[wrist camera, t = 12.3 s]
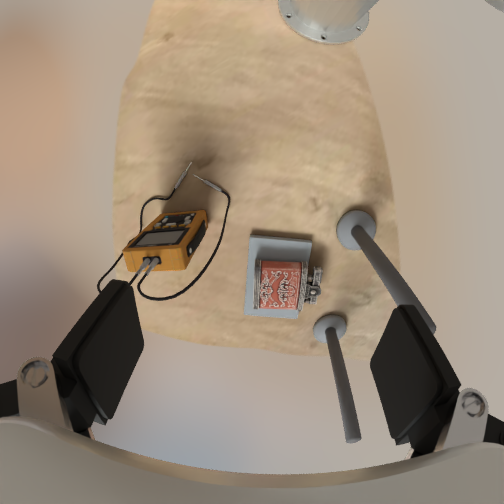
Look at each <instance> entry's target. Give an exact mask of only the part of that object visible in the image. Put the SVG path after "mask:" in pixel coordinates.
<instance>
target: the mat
mask: <svg viewBox="0 0 504 504" xmlns="http://www.w3.org/2000/svg"><path fill="white" fill-rule="evenodd" d="M311 247H312V241H311V240H303V239H293V238H282V237H271V236H260V235H250V242H249V255H248V268H247V281H246V294H245V308H244V315H253V316H265V317H278V318H293V319H297V317H298V313H299V311H297V310H293V309H264V308H259V309H253V289H254V264H255V259H261V261H280V262H301V261H307V266H308V263H309V258H310V252H311Z"/></svg>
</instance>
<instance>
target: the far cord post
mask: <svg viewBox="0 0 504 504" xmlns="http://www.w3.org/2000/svg"><path fill="white" fill-rule="evenodd" d="M313 332H314V337H315V338H316V339H317V340H318V341H320V342H322V343H327V344H328V349H329V353H330V358H331V363H332V367H333V372H334V377H335V382H336V387H337V393H338V398H339V403H340V408H341V414H342V420H343V426H344V431H345V438H346V442H347V443H355V442H357V441H359V440H361V433H360V429H359V423H358V419H357V414H356V410H355V405H354V401H353V396H352V392H351V388H350V383H349V379H348V375H347V371H346V367H345V363H344V359H343V355H342V352H341V348H340V344H339V339H340V338H342V337H343V335H344V334H345V332H346V324H345V321H344V319H343V318H342V317H340V316H338V315H327V316H324V317H322V318H320V319H319V320H318V321H317V322H316V323H315V324H314V327H313Z"/></svg>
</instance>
